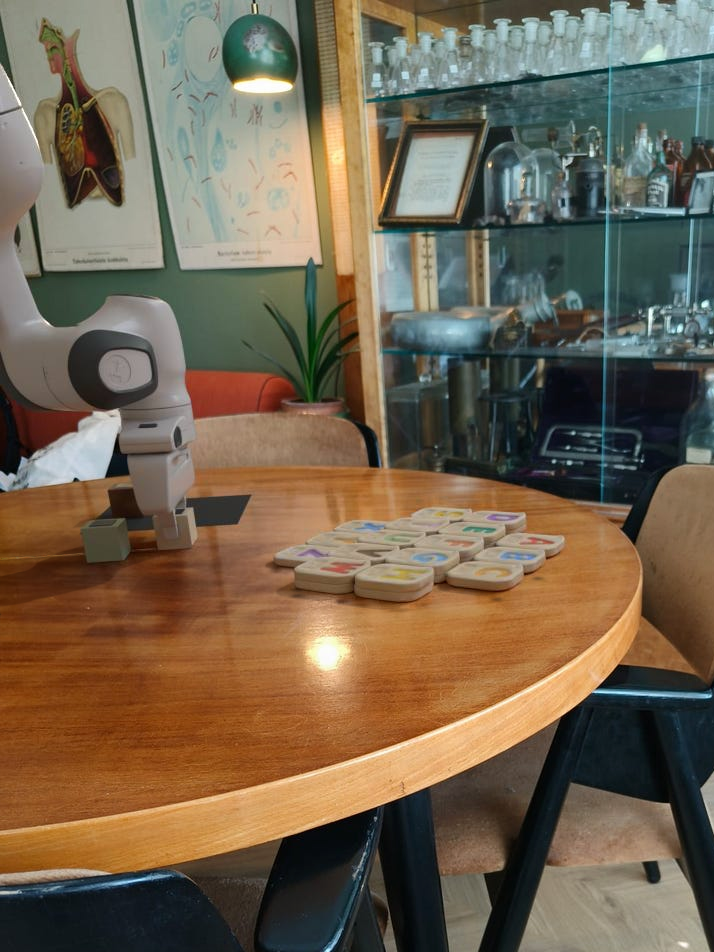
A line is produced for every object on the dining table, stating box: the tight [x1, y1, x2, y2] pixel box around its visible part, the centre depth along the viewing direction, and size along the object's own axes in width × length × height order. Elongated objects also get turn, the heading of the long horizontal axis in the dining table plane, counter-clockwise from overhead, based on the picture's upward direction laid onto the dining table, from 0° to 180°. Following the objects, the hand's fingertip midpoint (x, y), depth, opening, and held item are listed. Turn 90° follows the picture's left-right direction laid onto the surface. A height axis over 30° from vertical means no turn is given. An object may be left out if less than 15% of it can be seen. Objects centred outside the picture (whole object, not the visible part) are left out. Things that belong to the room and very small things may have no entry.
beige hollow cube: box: [152, 507, 198, 551], centre depth 119 cm, size 4×4×5 cm
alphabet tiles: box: [272, 506, 566, 603], centre depth 111 cm, size 33×33×2 cm
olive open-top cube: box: [80, 518, 132, 564], centre depth 114 cm, size 4×4×5 cm
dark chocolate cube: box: [107, 482, 146, 519], centre depth 134 cm, size 4×4×5 cm
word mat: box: [79, 494, 253, 535], centre depth 136 cm, size 22×20×1 cm
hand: (176, 532), depth 119 cm, fingers closed on beige hollow cube, 4 cm apart
